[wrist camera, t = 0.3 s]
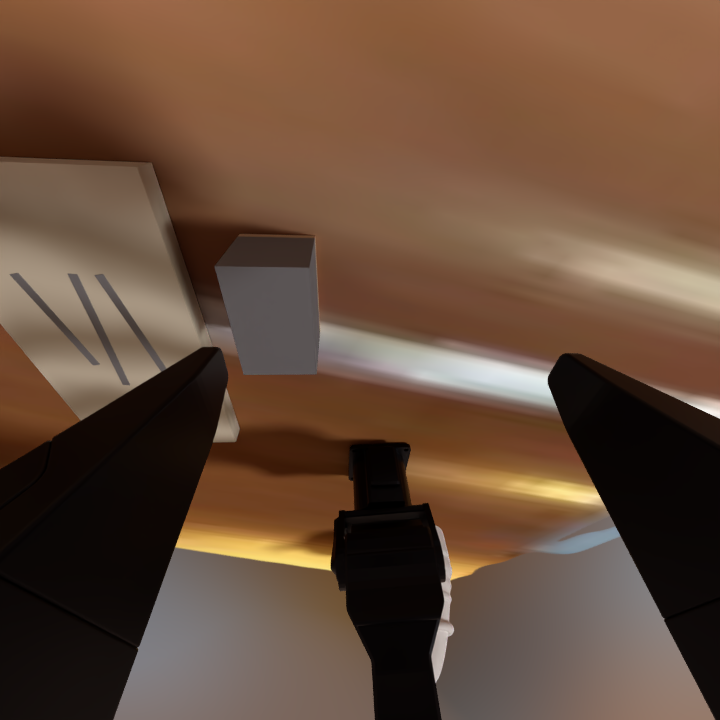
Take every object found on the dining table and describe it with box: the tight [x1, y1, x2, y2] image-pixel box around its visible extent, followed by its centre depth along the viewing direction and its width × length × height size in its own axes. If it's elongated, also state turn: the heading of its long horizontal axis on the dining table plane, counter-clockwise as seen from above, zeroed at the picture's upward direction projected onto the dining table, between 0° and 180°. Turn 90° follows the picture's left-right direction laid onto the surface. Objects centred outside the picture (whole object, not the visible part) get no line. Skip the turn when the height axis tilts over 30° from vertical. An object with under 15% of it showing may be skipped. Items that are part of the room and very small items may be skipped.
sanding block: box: [215, 234, 320, 375], centre depth 19 cm, size 7×4×5 cm, turn 178°
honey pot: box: [431, 526, 454, 683], centre depth 43 cm, size 13×13×18 cm
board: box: [0, 157, 240, 442], centre depth 22 cm, size 22×12×2 cm, turn 178°
